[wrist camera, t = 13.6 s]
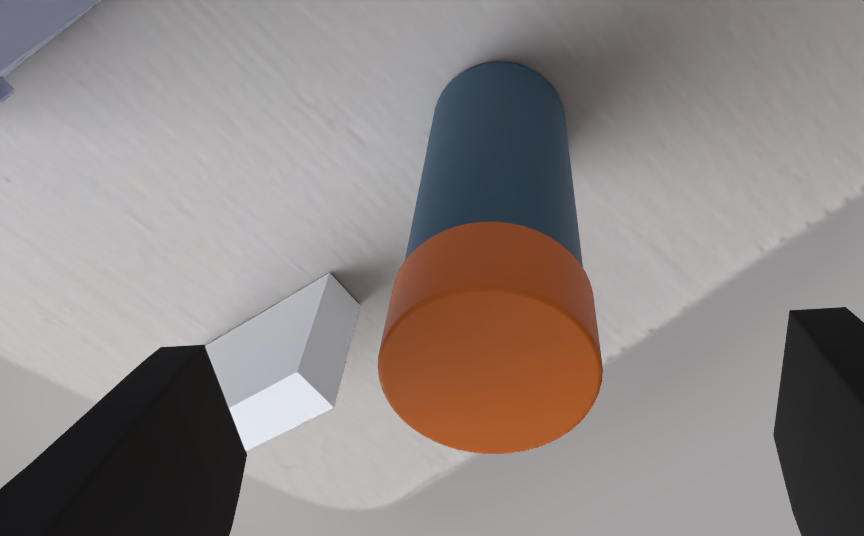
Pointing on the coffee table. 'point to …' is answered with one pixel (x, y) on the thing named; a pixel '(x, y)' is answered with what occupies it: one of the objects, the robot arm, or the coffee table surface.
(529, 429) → the glue stick
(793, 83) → the coffee table surface
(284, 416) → the eraser
